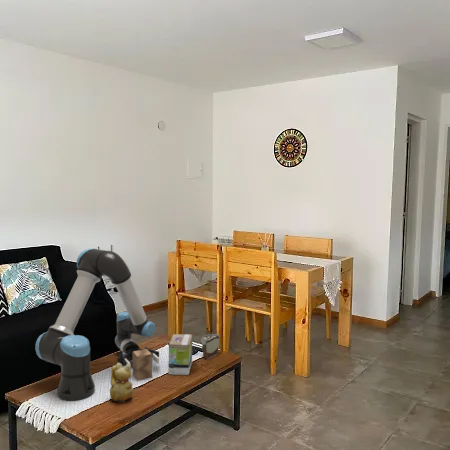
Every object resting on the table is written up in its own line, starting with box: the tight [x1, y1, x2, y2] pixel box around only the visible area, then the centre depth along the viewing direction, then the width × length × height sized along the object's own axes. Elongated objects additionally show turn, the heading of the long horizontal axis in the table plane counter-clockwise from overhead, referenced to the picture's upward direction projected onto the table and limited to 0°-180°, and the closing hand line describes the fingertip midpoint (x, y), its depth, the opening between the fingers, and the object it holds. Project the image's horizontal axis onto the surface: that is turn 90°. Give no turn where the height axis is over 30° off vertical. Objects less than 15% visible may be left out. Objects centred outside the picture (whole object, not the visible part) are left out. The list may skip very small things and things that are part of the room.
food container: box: [200, 333, 221, 360], centre depth 241 cm, size 12×6×10 cm, turn 144°
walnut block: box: [132, 348, 153, 381], centre depth 215 cm, size 7×7×11 cm
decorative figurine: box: [109, 362, 134, 403], centre depth 192 cm, size 10×8×15 cm
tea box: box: [167, 333, 193, 376], centre depth 224 cm, size 15×10×15 cm
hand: (144, 363), depth 214 cm, fingers open, 13 cm apart
